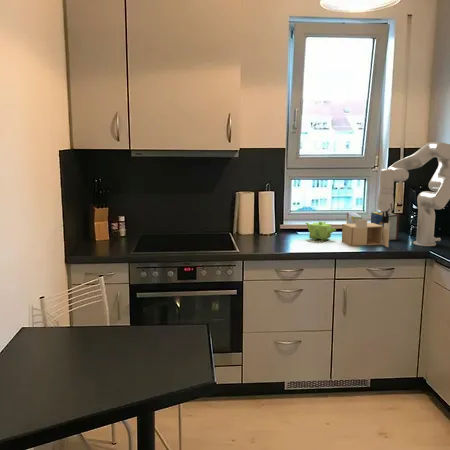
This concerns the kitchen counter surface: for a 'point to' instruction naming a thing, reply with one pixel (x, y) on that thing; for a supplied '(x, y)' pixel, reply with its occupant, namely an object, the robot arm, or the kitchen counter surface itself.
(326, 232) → the kettle
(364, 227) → the flap
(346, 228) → the carton
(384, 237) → the flap
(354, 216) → the snack box
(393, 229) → the protein box
